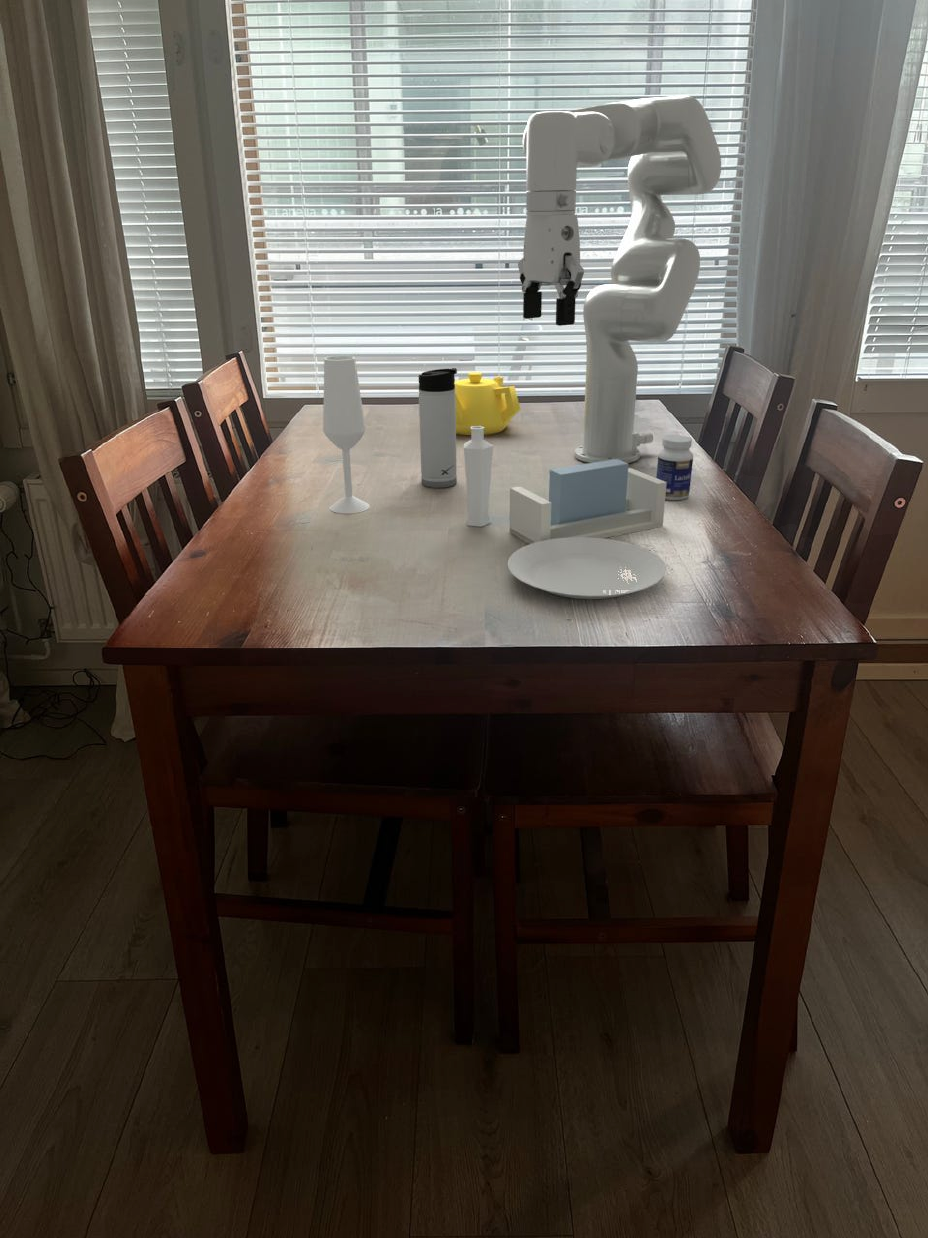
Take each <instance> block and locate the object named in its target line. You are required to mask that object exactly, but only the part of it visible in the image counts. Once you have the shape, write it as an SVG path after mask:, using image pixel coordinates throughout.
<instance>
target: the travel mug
mask: <svg viewBox="0 0 928 1238" xmlns="http://www.w3.org/2000/svg"><path fill="white" fill-rule="evenodd" d="M457 373H458V369H457V368H456V367H451V368H438V369H433V370H432V369H431V370H427V371H426V370H425V371H423V372H421V374H419V375H418V413H419V415H418V416H419V443H420V445H419V446H420V448H419V449H420V468H421V469H420V474H421V476H420V477H421V479H420V480H421V484H422V485H423V486H424V487H427V488H432V489H442V488H443V489H445V488H450V487H452V486H454V485H456V484H457V482H458V481H457V476H458V475H457V434H456V406H455V384H454V383H455V381H456V379H455V375H457Z"/></svg>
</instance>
